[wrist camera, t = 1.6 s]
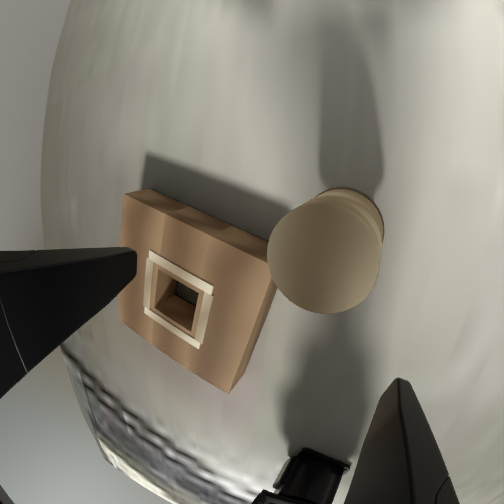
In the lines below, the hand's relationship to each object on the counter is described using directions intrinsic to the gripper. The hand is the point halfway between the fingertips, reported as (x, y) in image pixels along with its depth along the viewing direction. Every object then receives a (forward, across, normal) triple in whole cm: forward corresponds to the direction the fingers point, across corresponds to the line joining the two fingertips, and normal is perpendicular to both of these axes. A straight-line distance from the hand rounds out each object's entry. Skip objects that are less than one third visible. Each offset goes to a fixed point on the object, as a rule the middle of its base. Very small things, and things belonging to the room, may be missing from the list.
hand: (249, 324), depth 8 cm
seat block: (+13, +10, +10) cm, 19 cm away
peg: (+13, -1, -1) cm, 13 cm away
